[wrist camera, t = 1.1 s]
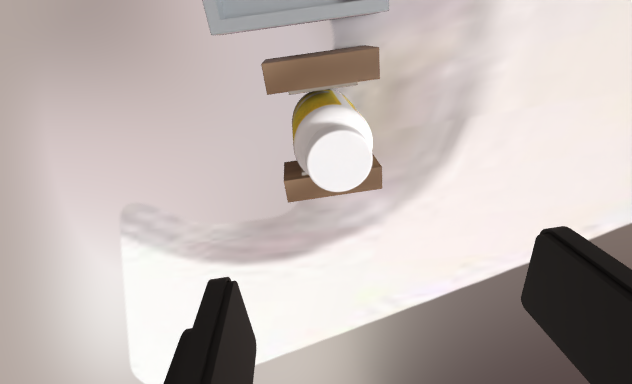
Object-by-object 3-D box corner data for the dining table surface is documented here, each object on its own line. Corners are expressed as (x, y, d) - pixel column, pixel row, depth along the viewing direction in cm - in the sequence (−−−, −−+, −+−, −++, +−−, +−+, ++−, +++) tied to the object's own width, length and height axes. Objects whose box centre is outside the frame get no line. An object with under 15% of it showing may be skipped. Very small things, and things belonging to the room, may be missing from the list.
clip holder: (265, 59, 24) (261, 64, 20) (365, 45, 24) (379, 47, 20) (288, 181, 29) (288, 202, 25) (370, 169, 29) (382, 188, 26)
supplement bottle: (282, 136, 27) (280, 185, 18) (307, 76, 25) (316, 99, 16) (337, 157, 28) (358, 213, 20) (364, 103, 26) (402, 138, 17)
